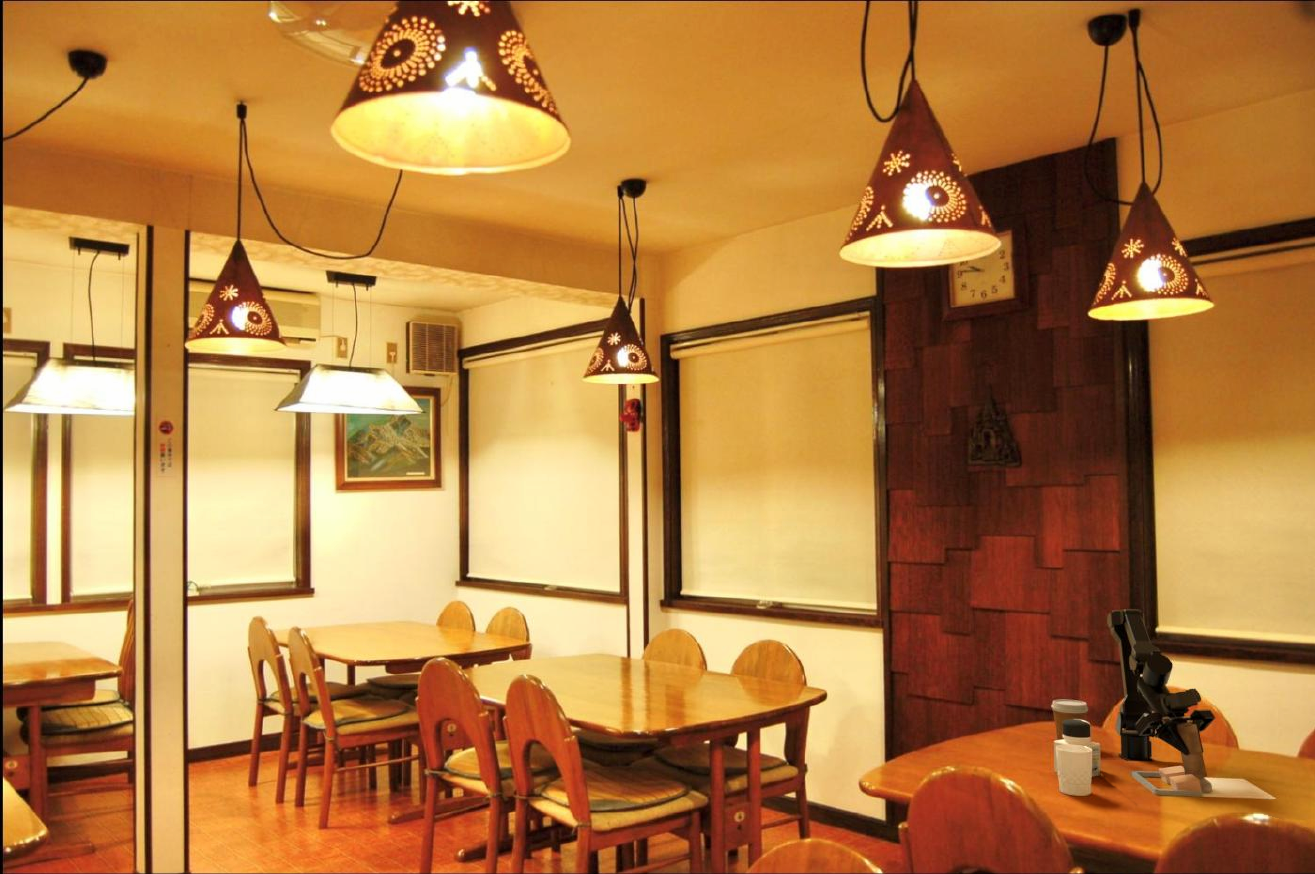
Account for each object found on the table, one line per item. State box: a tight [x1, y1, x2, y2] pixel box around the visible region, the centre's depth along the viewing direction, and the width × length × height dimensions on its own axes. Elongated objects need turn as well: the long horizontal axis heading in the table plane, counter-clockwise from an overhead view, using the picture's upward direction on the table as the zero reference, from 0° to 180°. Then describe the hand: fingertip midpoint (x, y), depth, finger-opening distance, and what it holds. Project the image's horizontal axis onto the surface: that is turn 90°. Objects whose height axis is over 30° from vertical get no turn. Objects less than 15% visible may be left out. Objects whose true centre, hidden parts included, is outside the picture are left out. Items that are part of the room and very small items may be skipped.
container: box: [1053, 719, 1102, 777], centre depth 257 cm, size 8×8×13 cm
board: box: [1203, 777, 1277, 800], centre depth 240 cm, size 16×17×1 cm
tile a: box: [1169, 774, 1201, 791], centre depth 237 cm, size 5×5×3 cm
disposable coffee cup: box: [1050, 699, 1089, 740], centre depth 285 cm, size 10×10×12 cm
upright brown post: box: [1177, 722, 1213, 793], centre depth 241 cm, size 4×12×14 cm, turn 170°
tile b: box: [1158, 765, 1185, 785], centre depth 245 cm, size 5×5×3 cm
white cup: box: [1056, 744, 1092, 797], centre depth 240 cm, size 8×8×10 cm
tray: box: [1130, 770, 1204, 798], centre depth 241 cm, size 10×17×2 cm, turn 173°
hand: (1195, 753), depth 240 cm, fingers closed on upright brown post, 3 cm apart
